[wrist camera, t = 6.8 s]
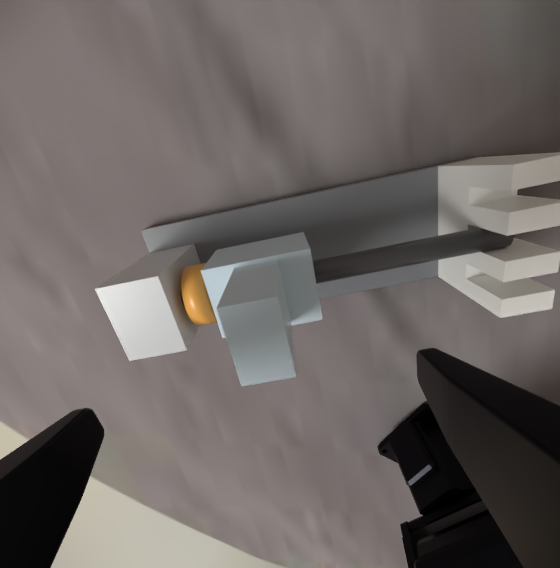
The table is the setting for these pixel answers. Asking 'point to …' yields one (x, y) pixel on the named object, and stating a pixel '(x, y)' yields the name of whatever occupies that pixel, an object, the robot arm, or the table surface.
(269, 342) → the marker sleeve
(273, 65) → the table surface
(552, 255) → the grey slide rail
